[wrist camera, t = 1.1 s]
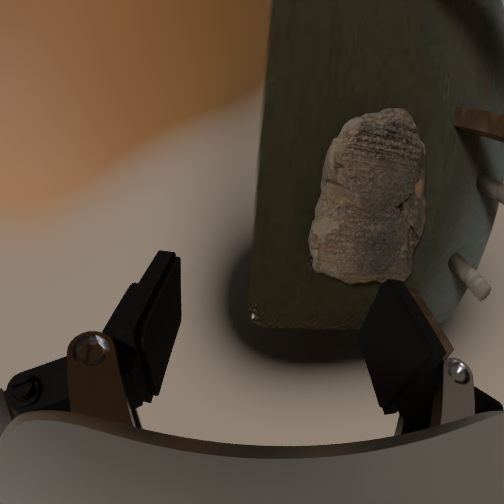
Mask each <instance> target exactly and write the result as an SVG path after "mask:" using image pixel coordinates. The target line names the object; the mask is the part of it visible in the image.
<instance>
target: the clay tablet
mask: <svg viewBox="0 0 504 504" xmlns="http://www.w3.org/2000/svg"><path fill="white" fill-rule="evenodd" d="M425 158H426V153H425V146H424V144H423V143H422V141H421V140H420V138H419V136H418V129H417V126H416V125H415V123H414V122H413V120H412V118H411V116H410V114H409V113H408V112H407V111H406V110H405V109H402V108H388V109H383V110H381V111H380V113H366V114H364V115H363V116H361V117H355V118H354V119H350V120H349V121H348V122H347V123H346V124H345V125H344V126H343V128H342V130H341V132H340V134H339V135H338V137H337V138H334V139H333V141H332V144H331V146H330V147H329V149H328V152H327V154H326V159H325V163H324V166H323V176H322V181H321V191H322V192H321V195H320V198H319V200H318V203H317V205H316V208H315V220H313V221H312V226H311V230H310V234H309V248H310V252H311V254H312V256H313V257H312V258H314V260H313V265H312V267H313V269H314V270H315V271H316V272H318V273H324V274H325V275H327V276H331V277H334V278H337V279H340V280H341V281H343V282H345V283H347V284H350V285H351V284H354V283H368V282H371V281H375V280H376V281H378V282H380V283H383V282H385V281H386V280H387V279H395V280H401V281H402V282H404V281H405V279H406V278H408V277H409V275H410V274H411V272H412V270H413V258H412V254H413V253H414V248H415V247H416V246H417V244H418V242H419V240H420V238H421V236H422V233H423V228H424V224H425V221H426V214H425V213H424V212H425V208H426V202H425V197H424V194H423V192H424V189H425V187H424V180H425V176H426V175H425V169H426V163H425Z"/></svg>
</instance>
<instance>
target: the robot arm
mask: <svg viewBox="0 0 504 504" xmlns="http://www.w3.org/2000/svg"><path fill="white" fill-rule="evenodd" d="M180 261H181V259H180V257H176V254H175V252H168V251H158V253H157V254H156V256H155V257H154V259H153V261H152V262H151V264H150V265H149V267H148V269H147V270H146V272H145V273H144V275H143V277H142V278H141V280H140V282H139V283H132V284H131V285H130V287H129V288H128V290H127V291H126V293H125V295H124V296H123V298H122V299H121V301H120V303H119V304H118V306H117V308H116V309H115V311H114V313H113V314H112V316H111V318H110V320H109V321H108V323H107V325H106V326H105V328H104V330H103V332H102V333H101V332H97V331H88V332H85V333H81V334H80V335H78V336H76V337H75V338H74V339H73V340H72V341H71V342H70V344H69V346H68V349H67V356H66V357H63V358H61V359H58V360H55V361H52V362H49V363H46V364H44V365H41V366H38V367H35V368H32V369H29V370H27V371H24V372H21V373H19V374H17V375H15V376H14V377H13V378H12V379H11V380H10V382H9V383H8V386H7V390H6V391H3V390H2V388H1V389H0V504H504V410H503V407H502V405H501V403H500V402H498V401H497V400H495V399H494V398H492V397H491V396H489V395H487V394H486V393H484V392H483V391H481V390H479V389H478V388H476V387H474V384H473V375H472V372H471V370H470V368H469V367H468V366H467V364H465V363H464V362H463V361H461V360H460V359H457V358H449V359H447V360H446V361H445V362H444V361H443V357H444V356H445V354H446V353H447V352H446V350H445V349H444V347H443V345H442V343H441V342H440V340H439V338H438V337H437V335H436V333H435V331H434V330H433V328H432V326H431V325H430V323H429V322H428V320H427V318H426V317H425V315H424V314H423V312H422V310H421V309H420V307H419V306H418V304H417V303H416V301H415V300H414V298H413V297H412V295H411V294H410V292H409V291H408V289H407V288H406V286H405V285H404V283H403V282H402V281H401V280H395V279H387V280H386V281H385V282H383V283H382V284H381V286H380V288H379V291H378V293H377V295H376V297H375V300H374V302H373V304H372V306H371V308H370V311H369V313H368V315H367V317H366V319H365V321H364V323H363V325H362V327H361V329H360V331H359V334H358V341H359V344H360V347H361V350H362V353H363V355H364V359H365V362H366V365H367V368H368V371H369V374H370V377H371V380H372V384H373V387H374V390H375V393H376V397H377V400H378V403H379V406H380V407H382V408H383V411H384V414H385V415H386V414H392V413H396V412H397V411H399V414H400V415H399V419H398V423H397V427H396V431H395V435H394V436H392V437H386V438H381V439H374V440H369V441H360V442H352V443H343V444H331V445H316V446H256V445H241V444H230V443H220V442H212V441H204V440H197V439H191V438H185V437H179V436H174V435H168V434H163V433H158V432H154V431H149V430H144V429H143V428H142V425H141V422H140V418H139V415H138V412H137V407H140V406H142V404H143V401H144V402H148V403H151V401H152V397H153V395H155V396H158V395H159V392H160V389H161V385H162V382H163V378H164V375H165V371H166V368H167V365H168V362H169V358H170V355H171V352H172V348H173V345H174V342H175V339H176V336H177V332H178V329H179V326H180V323H181V262H180Z"/></svg>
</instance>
